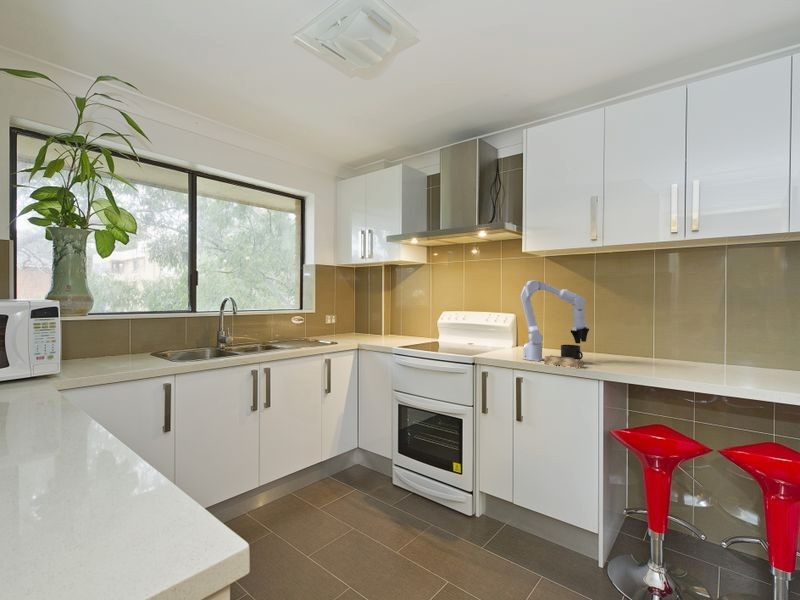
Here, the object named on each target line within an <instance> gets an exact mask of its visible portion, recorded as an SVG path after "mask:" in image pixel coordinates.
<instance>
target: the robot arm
mask: <svg viewBox="0 0 800 600" xmlns="http://www.w3.org/2000/svg"><path fill="white" fill-rule="evenodd" d="M537 291H546V292H547V293H551V294H554V295H556V296H557V297H558V299H559V300H562V301H563V302H566V303H569V304H571V305H572V315H573V317H572V319H573V326H571V330H570V333H571V334H572V337H573V340H574V342H575V344H581V342H582V343H583V342H585V343H586V342H587V340H588V339H587V338H588V334H589V332H590V328H588V327H589V326H588V324H586V315H585V304H586V300H585V298H584V297H583V295H578V293H577V292H572V291H570V290H569V289H567V288H566V289H565V288H562V289H558V288H556V287H555V286H552V285H550V284H548V283H546V282H542V281H538V280H536V279H531V280H527V282H526V283H525V284H524V285H523V288H522V291H521V294H520V300H521V304H522V308H523V313H524V316H525V320H526V324H527V331H528V334H527V335H528V340H529V341H528V343H527V342H525V343H524V345H523V349H522V351H523V353H522V354H523V358H522V360H525V361H534V362H541V361H545V358H543V335H542V334H541V332H540V329H539V327H538V325H537V320H536V316H535V313H534V308H533V304H532V301H531V297H532V296H533V294H534V293H536V292H537Z"/></svg>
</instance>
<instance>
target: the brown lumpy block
mask: <svg viewBox="0 0 800 600" xmlns="http://www.w3.org/2000/svg"><path fill="white" fill-rule="evenodd" d="M544 359H545V360H544V365H548V364H553V365H552V366H556V365H561V366H560V367H563V366H570V367H569V368H571V367H575V368H574V369H579V367H581V368H583V367H584V360H582V359H580V361H579V360H577V359H574V358H569V357H561V355H560V356H559V355H552V354H551V355H545V356H544ZM582 366H583V367H582Z"/></svg>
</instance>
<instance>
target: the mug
mask: <svg viewBox="0 0 800 600" xmlns="http://www.w3.org/2000/svg"><path fill="white" fill-rule="evenodd" d="M583 356H584V354H583V352H582V351H581V345H577V344H561V345H560V357H569V358H574V359H577V360H579V361H581V360H582V359H583Z"/></svg>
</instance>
